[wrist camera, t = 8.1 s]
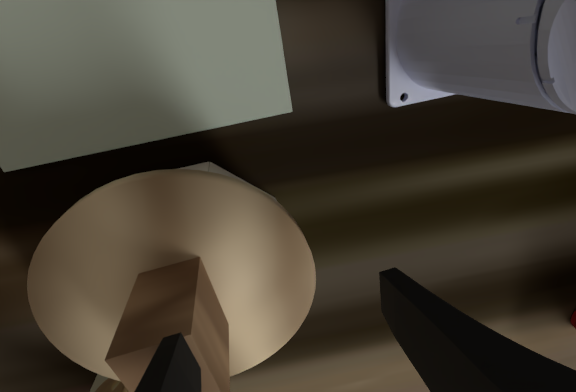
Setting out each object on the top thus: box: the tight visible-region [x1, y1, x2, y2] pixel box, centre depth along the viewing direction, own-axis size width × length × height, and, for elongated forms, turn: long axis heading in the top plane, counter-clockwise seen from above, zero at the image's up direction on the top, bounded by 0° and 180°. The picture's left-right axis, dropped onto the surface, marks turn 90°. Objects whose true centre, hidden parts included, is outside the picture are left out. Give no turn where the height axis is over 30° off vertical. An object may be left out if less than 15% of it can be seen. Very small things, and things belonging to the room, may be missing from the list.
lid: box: [27, 169, 316, 392], centre depth 14 cm, size 14×14×6 cm
